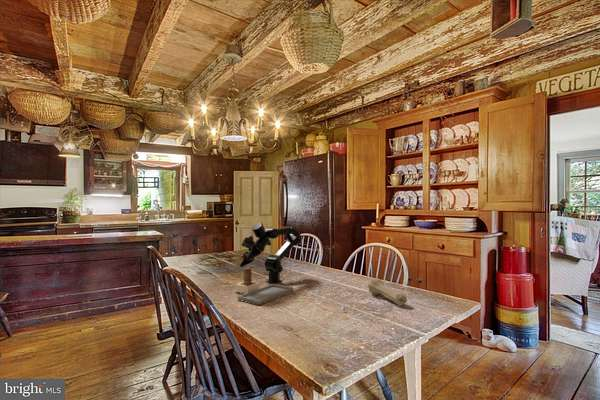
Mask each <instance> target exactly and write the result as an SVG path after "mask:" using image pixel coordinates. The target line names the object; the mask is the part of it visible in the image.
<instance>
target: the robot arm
mask: <svg viewBox="0 0 600 400" xmlns="http://www.w3.org/2000/svg"><path fill="white" fill-rule="evenodd" d="M251 230H252V232H253V235H254V236H255V238H256V239H257V238H258V239H257V240H255V241H254V236H252V235H249V236H248V237H244V239H243V240H242V242H241V246H242V247H244V248H247V251H245V253H243V254H242V256H241V258H242V261H241V263H240V265H239V267H240V268H243V267H245V266H247V265H251V264H252V263H253V262H254V261H255V258H257V257H258V256H260V255H261V254H262V253H263V252H264V251H265V248H266V246H271V245H272V242H271V240H270V239H277V238H278V237H279V236H282V235H285V236H286V242H285V243H284V244H283V245H282V246H281V247H280V249H278V251H277V252H276V253H275V254H270V255H268V257H266V259H265V260H264V267H265V271H266V272H268V280H267V281H266V283H270V284H278V283H280V282H283V280H281V275H280V273H282V272H283V270H284V267H283V266H282V260H283V259H284V258H285V256H286V255H287V254H288V253H289V252H290V251H291V250H292V248H293V247H295V246H298V245H299V244H300V243H301V242H302V239H303V236H302V235H301V234H300V232H299V231H297V230H296V229H295V228H294V227H293V226H285V227H279V228H268V227H266V228H265V227H264V224H263V222H258V223H256V224H254V225H253V226H252V227H251Z"/></svg>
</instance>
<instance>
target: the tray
mask: <svg viewBox="0 0 600 400" xmlns="http://www.w3.org/2000/svg"><path fill="white" fill-rule="evenodd" d="M289 292H290V293H293V292H294V287H293V286H288V285H287V286H286V285H281V284H278V283H270V284H268V285H265V286H261V287H260V288H259V289H256V290H254V291H251V292H248V293H245V294H242V293H241V294H240V295H237V300H238V299H239V300H238V301H240V300H243V301H242V302H244V301H247V302H246V303H248V302H250V303H249V304H252V303H254V304H253V305H256V304H258V305H257V306H261V305H260V304H262V305H264V304H266V303H268V302H267V301H269V302H270V300H271V301H273V300H275V298H276V299H278V298H280V297H283V296H285V295H288V294H289ZM287 293H288V294H287ZM284 294H285V295H284ZM282 295H283V296H282ZM279 296H280V297H279ZM277 297H278V298H277ZM272 299H273V300H272ZM265 302H266V303H265ZM263 303H264V304H263Z"/></svg>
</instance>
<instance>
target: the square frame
mask: <svg viewBox="0 0 600 400" xmlns="http://www.w3.org/2000/svg"><path fill="white" fill-rule="evenodd" d="M259 288H261V283H260V282H257V281H252V285H249V286H246V285H244V281H241V282H238V283H235V286H234V290H235V291H236V292H235V293H237V292H241V293H240V294H242V293H248V292H251V291H254V290H256V289H259Z"/></svg>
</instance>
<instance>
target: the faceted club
mask: <svg viewBox="0 0 600 400" xmlns="http://www.w3.org/2000/svg"><path fill="white" fill-rule="evenodd" d="M367 286H368V292H369V293H370V294H371V295H373V296H377V295H382V296H384V297H385V298H386V299H389V300H391V301H392V302H394V303H395V305H397V306H398V307H401V306H403V305H405V304H406V303H407V302H408V299H407V296H406V295H405V294H404V293H400V292H398V291H395V290H393V289H392V288H390V287H388V286H385V284H384V282H383V281H382V280H381V279H380V278H378V277H375V278H372V279H371V281H369V282H368V283H367Z"/></svg>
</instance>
